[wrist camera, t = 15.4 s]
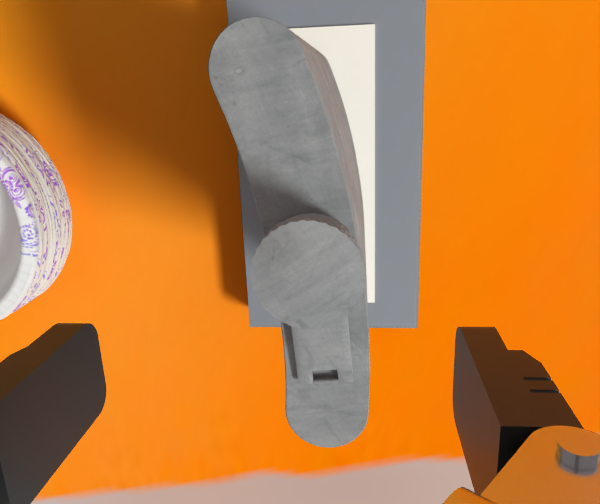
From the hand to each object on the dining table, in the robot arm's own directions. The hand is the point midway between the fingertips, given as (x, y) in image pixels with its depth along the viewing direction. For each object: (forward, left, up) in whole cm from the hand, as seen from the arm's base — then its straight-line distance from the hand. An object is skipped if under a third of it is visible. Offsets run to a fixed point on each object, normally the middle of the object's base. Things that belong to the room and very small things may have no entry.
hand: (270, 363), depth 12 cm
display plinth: (0, 0, -28) cm, 28 cm away
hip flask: (0, 0, -25) cm, 25 cm away
